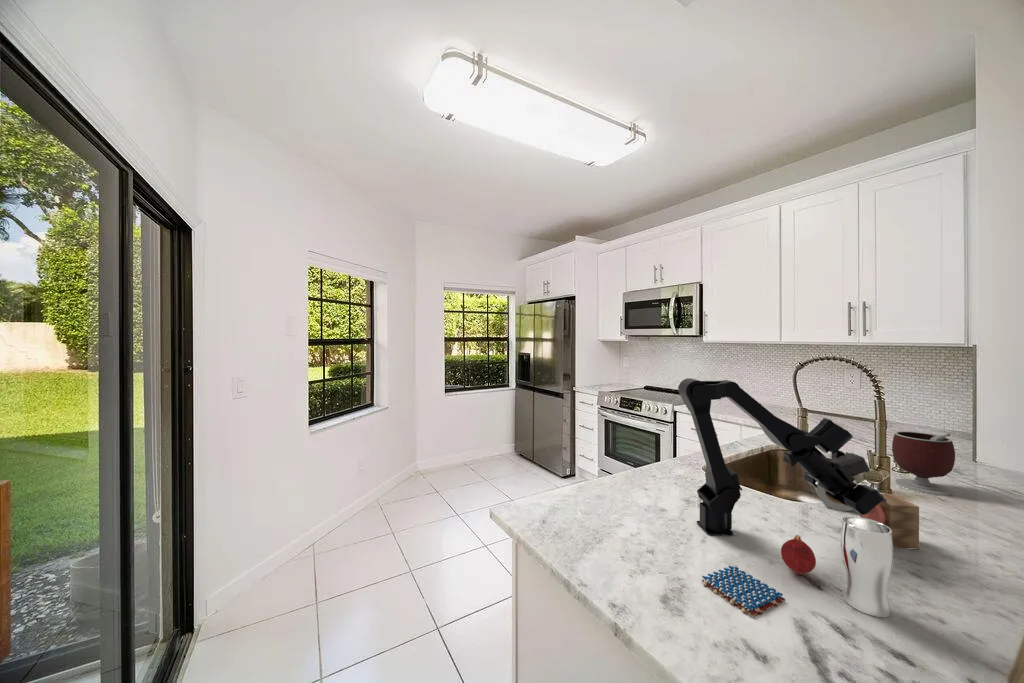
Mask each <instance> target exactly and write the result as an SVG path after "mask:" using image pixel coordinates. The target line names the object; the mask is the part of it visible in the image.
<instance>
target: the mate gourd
mask: <svg viewBox="0 0 1024 683" xmlns="http://www.w3.org/2000/svg"><path fill="white" fill-rule="evenodd" d="M949 437H951V434H950V433H943V434H934V433H926V432H918V431H903V430H901V431H894V435H893V438H892V442H891V443H892V444H891V447H892V448H891V451H892V456H893V460H894V462H895V463H896V464H897V466H898V467H900V469H901V470H904V471H905V472H907V473H910V474H911V475H913V476H915V478H914V479H913V478H898V479H895V484H896V485H897V486H899V487H901V488H903V487H904V488H903V489H906V488H908V489H907V490H909V489H911V490H910V491H912V490H915V491H914V492H916V491H919V492H918V493H920V492H922V493H921V494H925V493H927V494H926V495H931V494H934V495H933V496H941V495H944V496H945V495H946V496H950V495H952V491H951V489H949V488H947V487H946V486H942V485H939V484H936V483H932V482H930V480H929V479H930V478H943V477H946V476H947V475H948V474H949V473H950V472H952V471H953V469H954V466H955V462H956V451H955V445H954V442H953V439H952V438H949Z"/></svg>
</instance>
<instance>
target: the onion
mask: <svg viewBox="0 0 1024 683" xmlns="http://www.w3.org/2000/svg"><path fill="white" fill-rule="evenodd" d="M780 555H781V559H782V560H783V562H784V564H785V565H786V567H787V568H788V569H789V570H791V571H792V572H793V573H795V575H799V576H800V575H804V574H808V573H811V572H813V570H814V569H815V567H816V565H817V558H816V555H815V553H814V551H813V549H812V548H811V547H810V546H809V545H808V544H807V543H806V542H805V541H803V539H802V538H801V536H800V535H798V534H796V535H794V537H793V538H792V539H789V540H787V541H785V542H784V543H783V544H782V545H781V547H780Z"/></svg>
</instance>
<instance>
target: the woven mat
mask: <svg viewBox="0 0 1024 683" xmlns="http://www.w3.org/2000/svg"><path fill="white" fill-rule="evenodd" d="M717 571H718V572H717ZM717 571H713V572H712V573H707V575H701V576H702V578H703V579H702V580H701V582H702V585H703V586H704V587H710V588H709V590H710V591H713V593H714V594H718V595H719V594H720V595H719V597H721V598H723V601H725V602H726V603H727V602H729V604H731V605H733V606H736V608H737V609H741V611H742V613H745V614H746V613H749V614H748V616H749V617H750V618H753V617H755V616H757V615H762V614H763V612H767V611H768V610H770V609H772V608H773V607H778V605H780V604H782V603H783V602H785V601H786V598H784V597H783V596H784V595H783V593H782V592H780V591H778V590H776V589H775V588H774V587H773V586H769V585H768V584H767V583H764V582H763V581H762V580H760V579H757V578H756V577H754V576H753V575H751V574H749V573H748V572H747V573H746V572H745V570H741V569H740V568H739V567H738V566H733V565H732V566H731V565H728V567H723V569H718V570H717ZM724 597H725V598H724ZM771 607H772V608H771Z"/></svg>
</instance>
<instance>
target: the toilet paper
mask: <svg viewBox="0 0 1024 683" xmlns="http://www.w3.org/2000/svg"><path fill="white" fill-rule="evenodd" d="M853 483H855V484H857V485H858V483H857V481H856V479H855V480H854V481H853ZM815 484H816V485H817V486H818V487H817V488H815V492H816V495H817V497H818V499H819V500H820V501H821V502H822V503H823V504H824V505H826V507H829V508H830V509H833V510H835V511H840V512H849V511H854V510H853V509H852V508H850V507H848V506H846V505H844V504H842V503H840V502H839V501H837V500H836V499H834V498H832V497H830V496H828V495H827V494H826V492H827V491H826V490H824V489H823V488H821V487H820V486H819V485H818V484H819V483H818V482H816V483H815Z"/></svg>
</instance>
